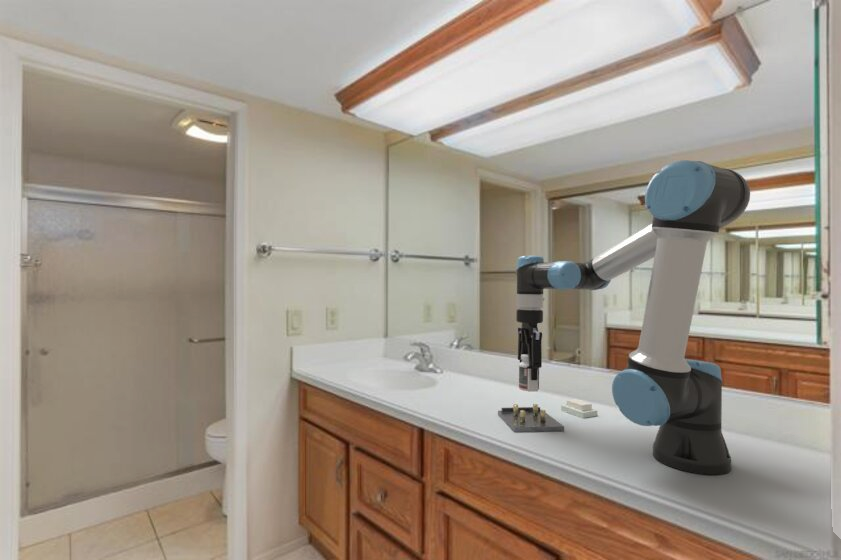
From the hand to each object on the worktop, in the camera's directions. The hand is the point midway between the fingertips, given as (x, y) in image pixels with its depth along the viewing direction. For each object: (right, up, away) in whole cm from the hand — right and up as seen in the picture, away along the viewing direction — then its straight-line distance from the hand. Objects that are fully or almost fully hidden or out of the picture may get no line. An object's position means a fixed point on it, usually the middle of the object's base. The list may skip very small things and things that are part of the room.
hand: (528, 388), depth 125 cm
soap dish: (+18, -10, +9) cm, 23 cm away
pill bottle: (0, -1, 0) cm, 1 cm away
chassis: (0, -10, 0) cm, 10 cm away
